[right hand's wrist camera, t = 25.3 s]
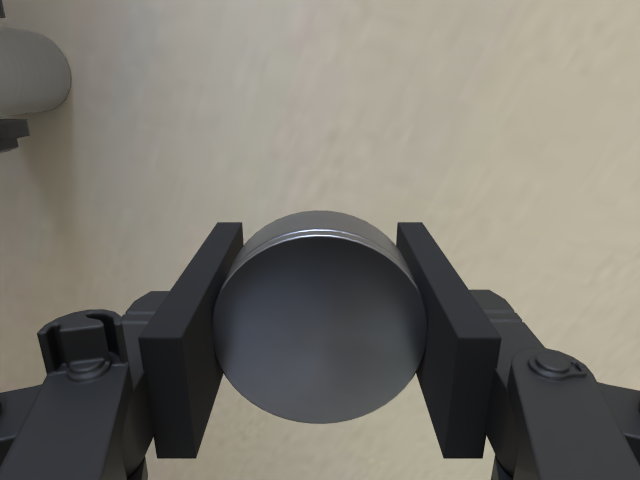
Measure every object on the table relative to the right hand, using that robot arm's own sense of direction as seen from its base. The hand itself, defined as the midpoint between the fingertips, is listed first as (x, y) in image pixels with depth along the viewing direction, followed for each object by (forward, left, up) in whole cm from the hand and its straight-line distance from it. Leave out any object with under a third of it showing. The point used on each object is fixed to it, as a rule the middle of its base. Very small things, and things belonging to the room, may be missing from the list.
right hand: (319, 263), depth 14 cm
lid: (0, 0, +4) cm, 4 cm away
